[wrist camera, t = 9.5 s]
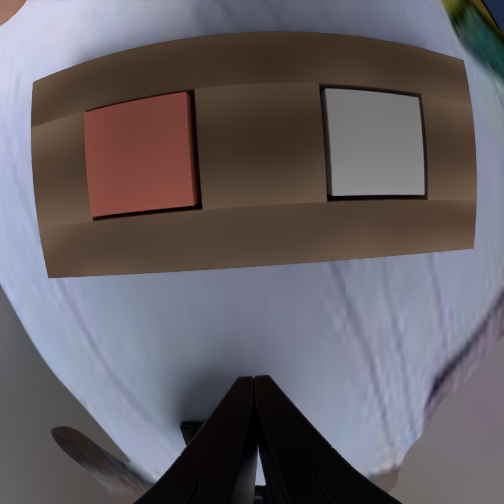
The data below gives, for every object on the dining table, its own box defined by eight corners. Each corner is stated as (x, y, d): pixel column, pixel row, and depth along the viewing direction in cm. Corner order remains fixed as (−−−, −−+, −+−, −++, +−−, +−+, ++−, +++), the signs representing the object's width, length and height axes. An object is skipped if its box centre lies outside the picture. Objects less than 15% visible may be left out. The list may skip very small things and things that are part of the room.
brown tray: (433, 232, 20) (473, 248, 15) (84, 255, 20) (48, 278, 15) (425, 76, 17) (463, 60, 12) (72, 95, 17) (33, 82, 12)
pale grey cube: (396, 189, 18) (424, 194, 14) (316, 191, 18) (332, 195, 14) (391, 107, 16) (418, 97, 13) (310, 103, 16) (325, 88, 13)
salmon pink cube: (203, 198, 17) (193, 205, 14) (117, 208, 17) (91, 216, 14) (197, 107, 16) (186, 91, 12) (111, 121, 16) (84, 112, 12)
